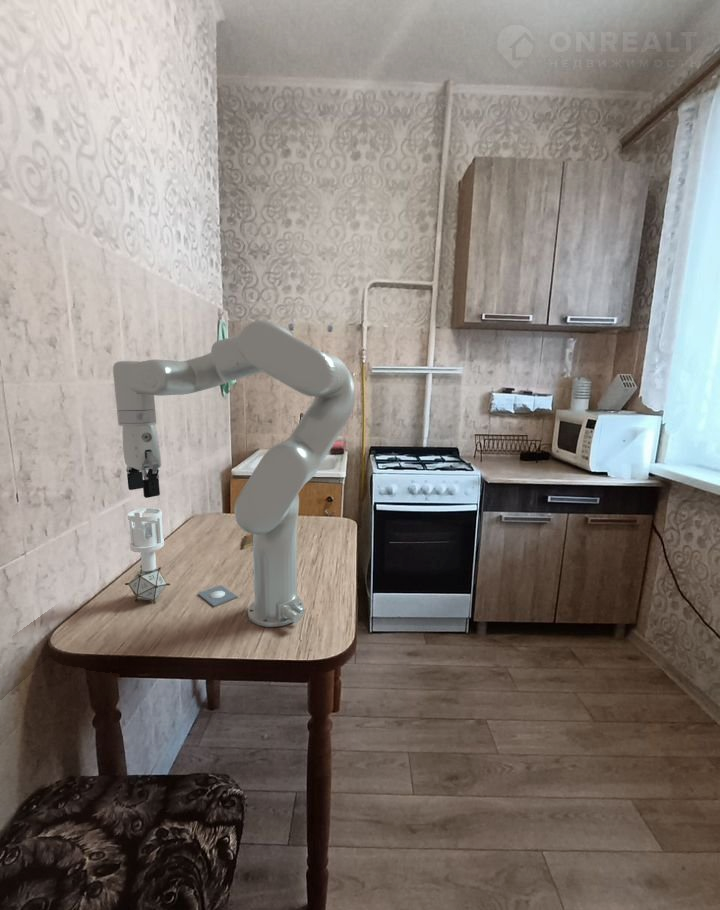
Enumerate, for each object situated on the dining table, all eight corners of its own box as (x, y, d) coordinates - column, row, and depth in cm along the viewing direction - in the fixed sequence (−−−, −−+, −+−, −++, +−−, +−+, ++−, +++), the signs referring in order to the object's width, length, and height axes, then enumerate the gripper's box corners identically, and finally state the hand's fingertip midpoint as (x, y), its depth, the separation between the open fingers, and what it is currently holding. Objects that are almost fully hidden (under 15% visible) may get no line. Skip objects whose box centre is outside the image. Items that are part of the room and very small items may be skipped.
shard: (243, 551, 129) (242, 545, 129) (227, 545, 134) (227, 540, 134) (269, 541, 138) (269, 535, 138) (254, 536, 142) (254, 531, 142)
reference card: (237, 597, 100) (237, 595, 100) (214, 607, 96) (213, 605, 96) (220, 586, 106) (220, 584, 106) (198, 594, 102) (198, 592, 101)
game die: (143, 612, 100) (129, 574, 103) (178, 595, 103) (163, 558, 105) (129, 613, 92) (115, 572, 94) (168, 594, 94) (152, 554, 97)
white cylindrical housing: (126, 575, 94) (120, 512, 92) (141, 561, 101) (137, 503, 99) (157, 575, 94) (152, 512, 92) (170, 562, 101) (166, 503, 99)
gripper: (170, 419, 89) (176, 496, 91) (140, 415, 100) (147, 483, 103) (132, 421, 83) (140, 503, 86) (106, 416, 95) (113, 489, 98)
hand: (143, 492), depth 95 cm, fingers open, 9 cm apart
